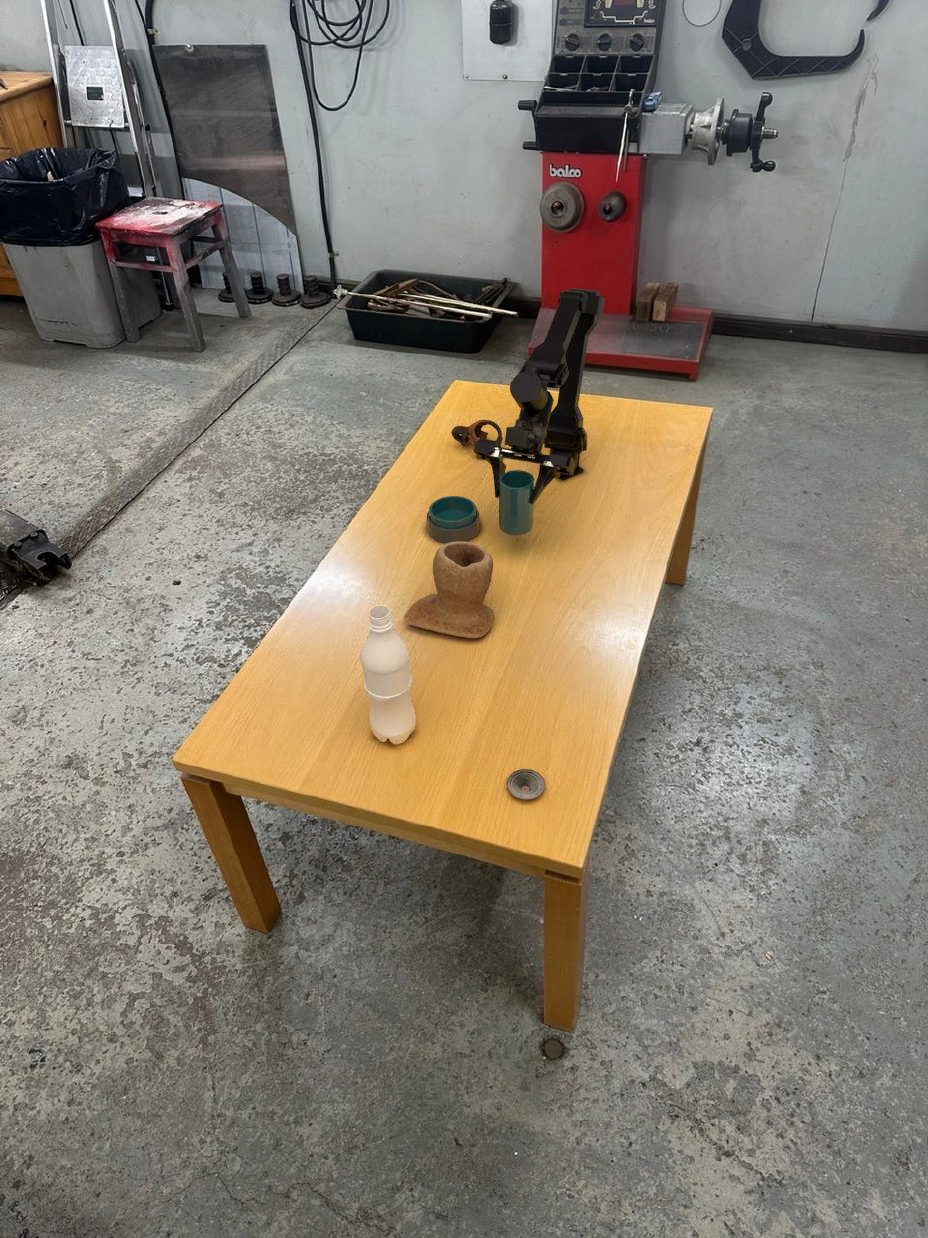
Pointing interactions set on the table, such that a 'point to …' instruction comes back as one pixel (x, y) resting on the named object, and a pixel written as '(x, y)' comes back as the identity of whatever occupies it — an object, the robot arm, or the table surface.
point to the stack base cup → (453, 531)
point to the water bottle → (387, 678)
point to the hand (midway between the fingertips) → (513, 500)
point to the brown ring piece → (474, 432)
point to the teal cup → (516, 502)
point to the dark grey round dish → (525, 784)
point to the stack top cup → (452, 512)
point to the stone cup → (457, 593)
